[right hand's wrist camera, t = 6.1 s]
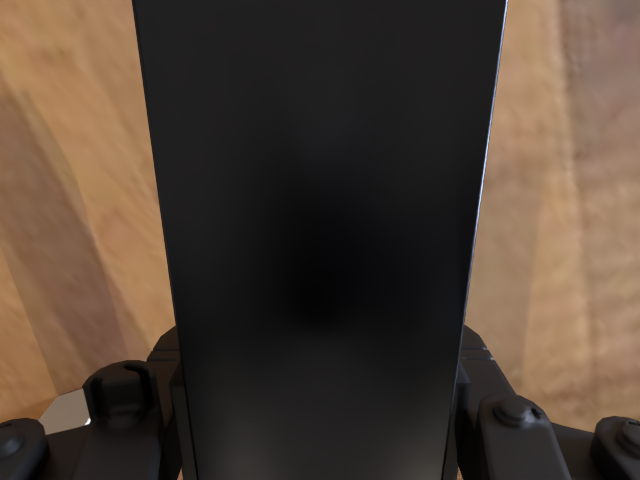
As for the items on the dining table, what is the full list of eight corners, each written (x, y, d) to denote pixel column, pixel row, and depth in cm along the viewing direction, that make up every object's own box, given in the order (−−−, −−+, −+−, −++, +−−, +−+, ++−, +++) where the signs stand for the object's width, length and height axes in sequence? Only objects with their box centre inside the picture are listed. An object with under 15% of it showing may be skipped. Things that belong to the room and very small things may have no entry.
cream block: (116, 377, 31) (81, 430, 26) (149, 426, 33) (121, 485, 28) (57, 396, 32) (12, 451, 27) (92, 444, 33) (56, 504, 29)
